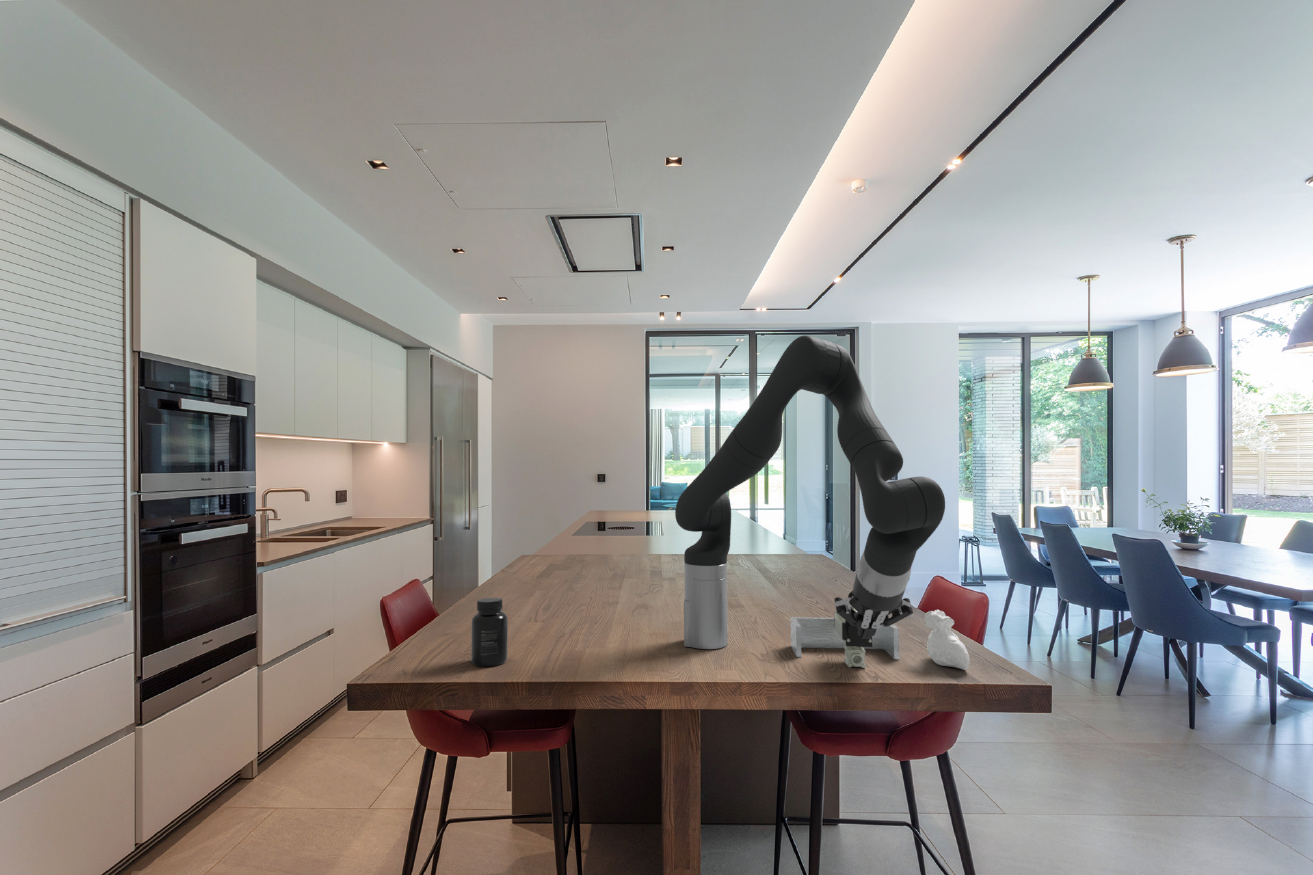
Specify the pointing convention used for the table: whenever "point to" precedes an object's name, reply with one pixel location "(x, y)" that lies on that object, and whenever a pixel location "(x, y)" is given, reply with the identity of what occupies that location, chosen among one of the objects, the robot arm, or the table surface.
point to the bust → (945, 642)
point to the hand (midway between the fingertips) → (864, 633)
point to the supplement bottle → (489, 633)
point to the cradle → (837, 636)
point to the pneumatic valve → (851, 642)
